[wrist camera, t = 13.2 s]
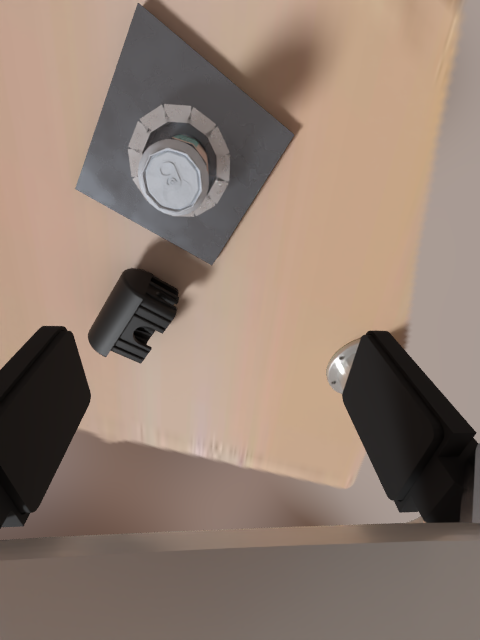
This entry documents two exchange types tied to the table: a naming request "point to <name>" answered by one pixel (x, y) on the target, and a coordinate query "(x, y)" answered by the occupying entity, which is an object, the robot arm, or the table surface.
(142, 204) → the grey square plate
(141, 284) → the end cap
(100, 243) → the table surface
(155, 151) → the beer can
